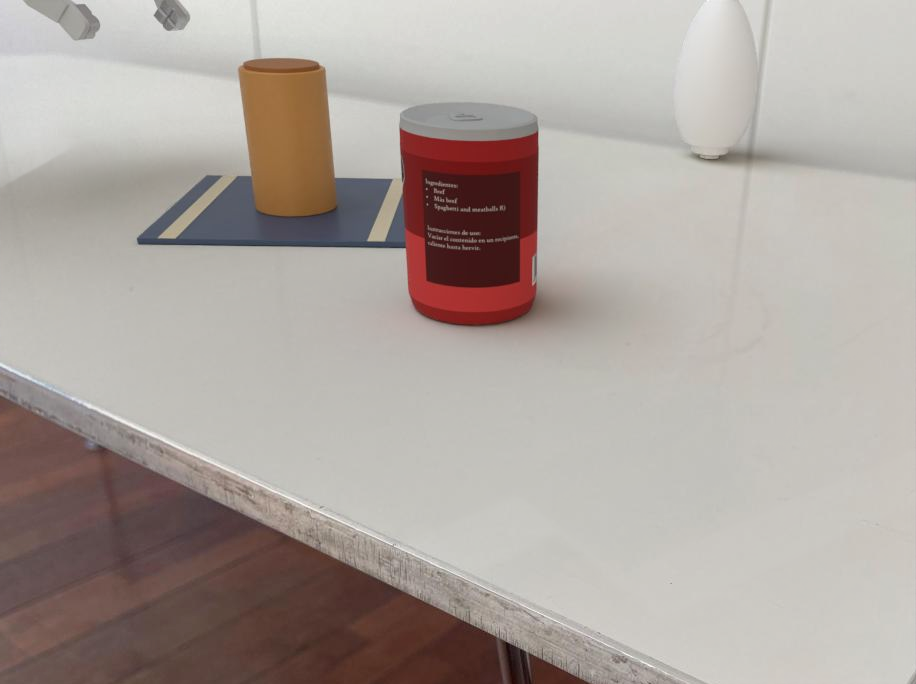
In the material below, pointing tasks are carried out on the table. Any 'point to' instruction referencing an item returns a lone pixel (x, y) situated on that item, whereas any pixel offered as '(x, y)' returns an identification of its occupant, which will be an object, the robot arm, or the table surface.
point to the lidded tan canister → (288, 136)
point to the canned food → (470, 210)
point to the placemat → (239, 223)
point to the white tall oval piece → (716, 79)
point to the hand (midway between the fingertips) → (137, 29)
